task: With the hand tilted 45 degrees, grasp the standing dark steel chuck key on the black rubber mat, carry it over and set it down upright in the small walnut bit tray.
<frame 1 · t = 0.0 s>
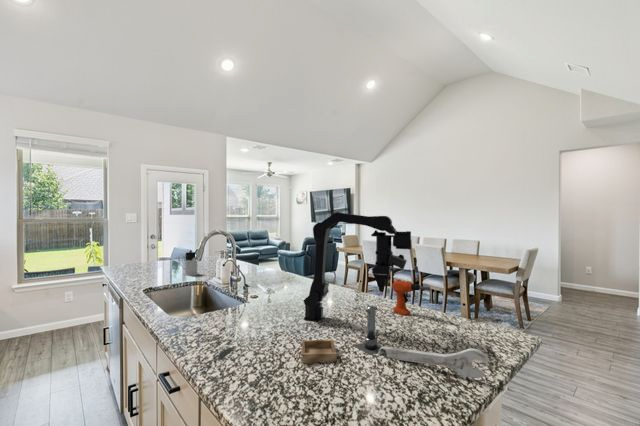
hand: (383, 288, 119), 15 cm above the countertop, tool pointing down, fingers open, 9 cm apart
toy drill: (410, 316, 133), on the countertop
wrench: (428, 369, 88), on the countertop
glass holder: (187, 274, 217), on the countertop
tray: (318, 355, 95), on the countertop
chuck key: (370, 347, 100), resting on mat
mat: (370, 348, 100), on the countertop
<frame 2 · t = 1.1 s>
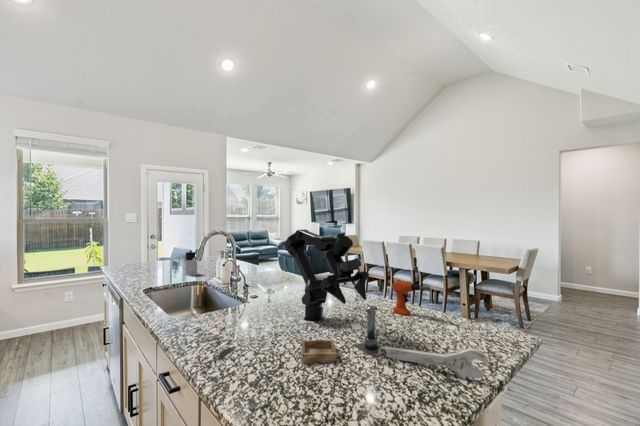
hand: (355, 301, 107), 13 cm above the countertop, tool tilted 45°, fingers open, 9 cm apart
nothing on the countertop moved.
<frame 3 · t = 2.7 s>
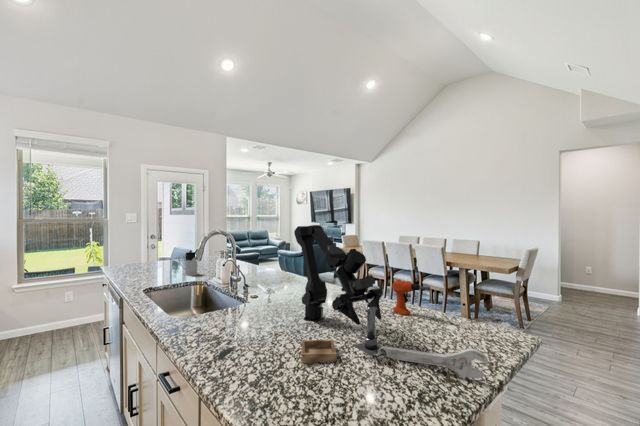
hand: (370, 321, 100), 9 cm above the countertop, tool tilted 45°, fingers open, 9 cm apart
nothing on the countertop moved.
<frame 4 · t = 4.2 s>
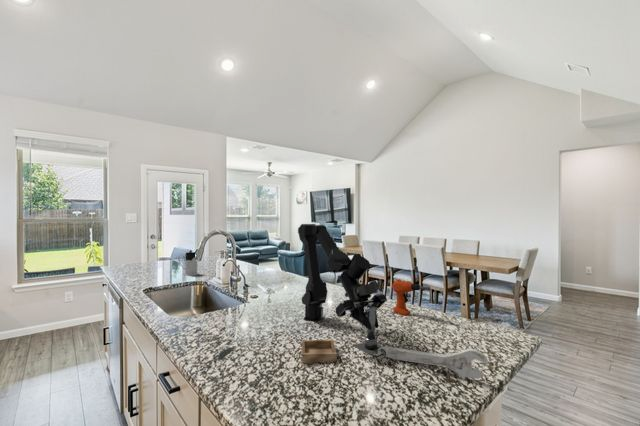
hand: (374, 328, 99), 7 cm above the countertop, tool tilted 45°, fingers closed on chuck key, 3 cm apart
chuck key: (370, 347, 100), resting on mat, touching gripper
everything else where it was.
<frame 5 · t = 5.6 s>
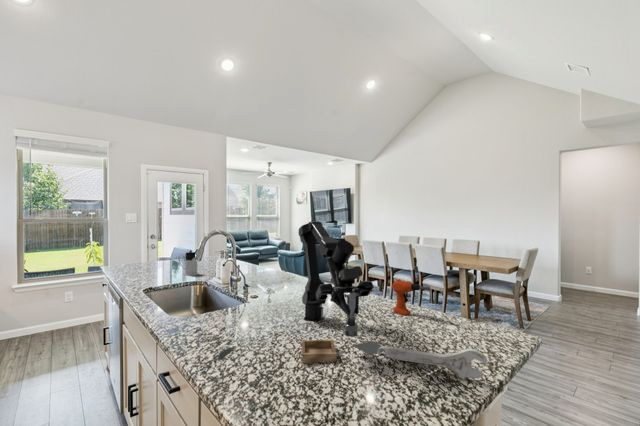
hand: (353, 314, 95), 12 cm above the countertop, tool tilted 45°, fingers closed on chuck key, 3 cm apart
chuck key: (351, 334, 97), point 6 cm above the countertop, touching gripper
everything else where it was.
when the fingers open (9 cm above the countertop, at t = 7.4 s): chuck key drops 1 cm, resting on tray.
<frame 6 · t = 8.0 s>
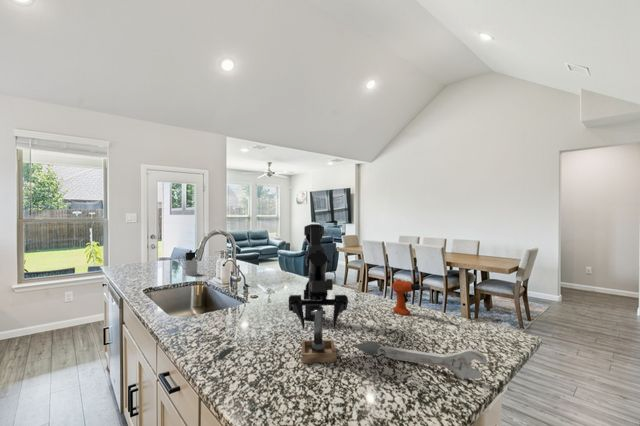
hand: (319, 328, 93), 9 cm above the countertop, tool tilted 45°, fingers open, 9 cm apart
chuck key: (318, 352, 95), point 1 cm above the countertop, touching tray
everything else where it was.
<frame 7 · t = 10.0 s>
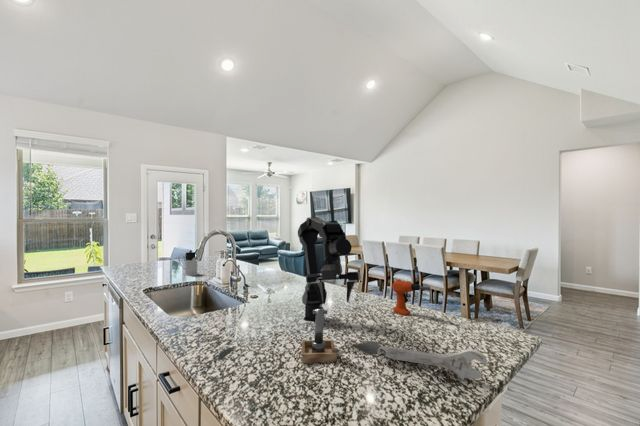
hand: (334, 302, 108), 12 cm above the countertop, tool pointing down, fingers open, 9 cm apart
nothing on the countertop moved.
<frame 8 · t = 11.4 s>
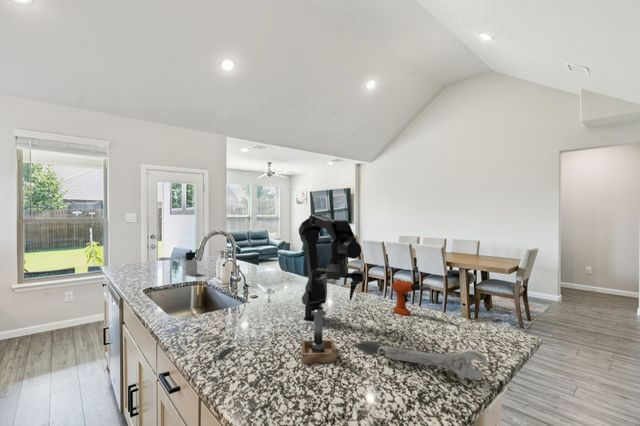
hand: (337, 298, 111), 13 cm above the countertop, tool pointing down, fingers open, 9 cm apart
at the end: chuck key inside the target area on the tray (0.4 cm from its centre), point 0.7 cm above the tray's base; chuck key tilted 4°; the gripper is holding nothing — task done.
